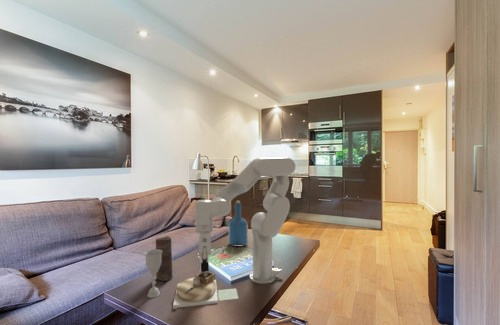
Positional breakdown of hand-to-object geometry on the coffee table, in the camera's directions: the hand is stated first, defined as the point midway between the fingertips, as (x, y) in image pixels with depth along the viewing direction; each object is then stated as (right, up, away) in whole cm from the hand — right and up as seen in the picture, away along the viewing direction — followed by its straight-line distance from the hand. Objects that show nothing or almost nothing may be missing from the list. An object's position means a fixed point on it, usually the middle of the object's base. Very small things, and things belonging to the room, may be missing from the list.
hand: (204, 268), depth 106 cm
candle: (-22, -9, +10) cm, 26 cm away
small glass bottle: (0, -4, 0) cm, 5 cm away
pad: (+11, -9, -6) cm, 15 cm away
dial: (-2, -7, -5) cm, 9 cm away
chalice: (-21, -9, -4) cm, 23 cm away
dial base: (-3, -9, -5) cm, 11 cm away
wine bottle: (+12, -10, +59) cm, 61 cm away
